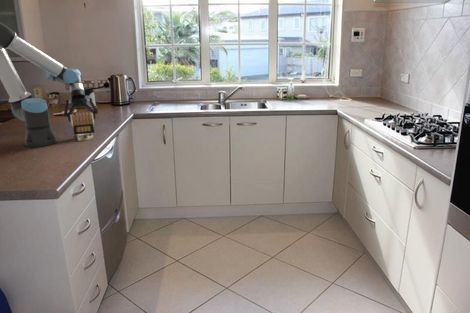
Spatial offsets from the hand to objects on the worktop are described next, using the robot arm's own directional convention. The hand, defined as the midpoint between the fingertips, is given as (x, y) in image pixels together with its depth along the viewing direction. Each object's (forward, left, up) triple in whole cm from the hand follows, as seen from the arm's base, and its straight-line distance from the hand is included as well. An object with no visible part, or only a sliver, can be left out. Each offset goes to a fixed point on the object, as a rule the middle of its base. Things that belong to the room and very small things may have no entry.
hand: (83, 124), depth 211 cm
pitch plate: (0, +3, -8) cm, 8 cm away
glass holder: (+9, +113, -8) cm, 114 cm away
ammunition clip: (0, +3, -6) cm, 6 cm away
